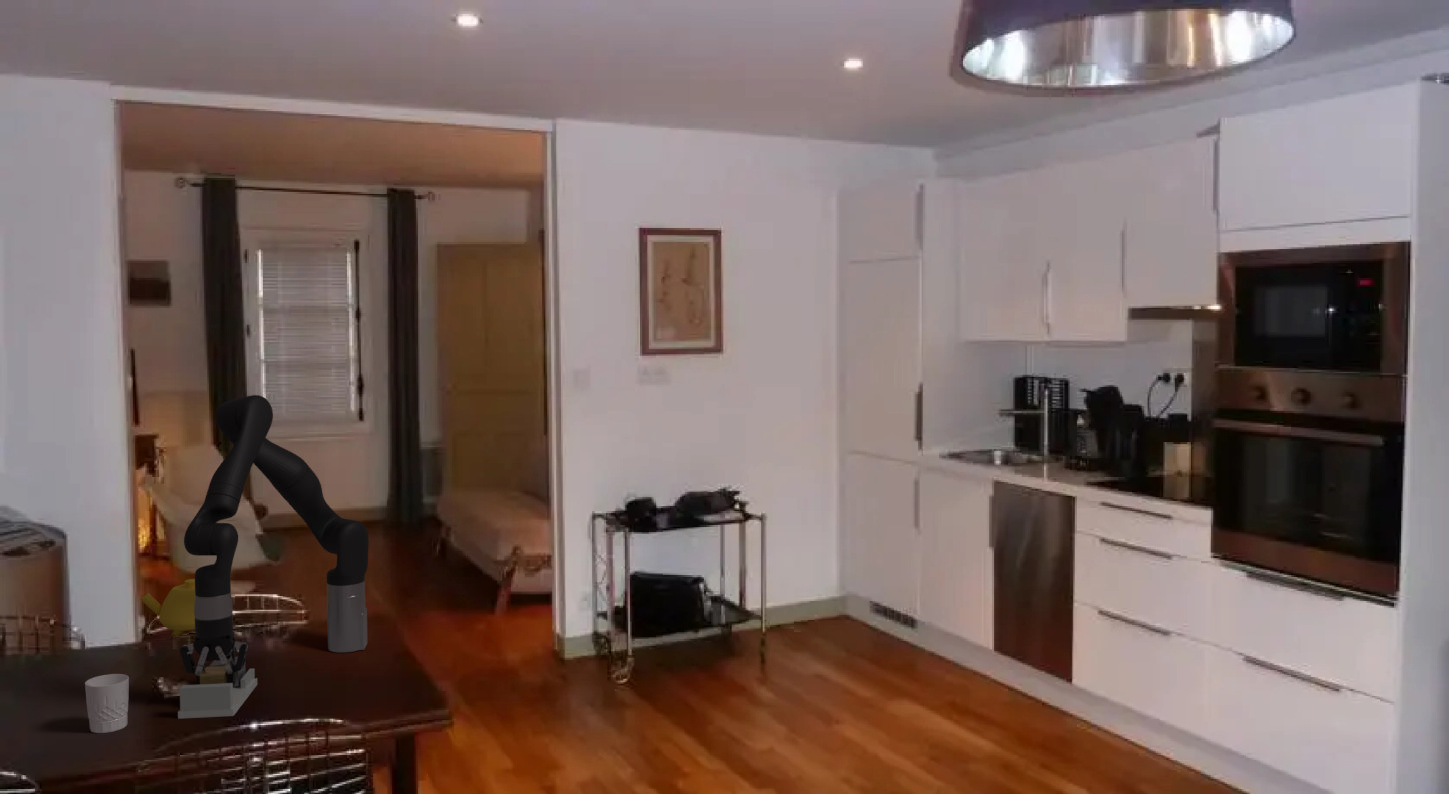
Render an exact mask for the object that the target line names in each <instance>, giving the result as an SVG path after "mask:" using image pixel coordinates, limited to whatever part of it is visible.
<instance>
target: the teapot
mask: <svg viewBox="0 0 1449 794" xmlns="http://www.w3.org/2000/svg"><path fill="white" fill-rule="evenodd" d="M140 601H141V602H142V603H143V604H145V605H146V606H147V607H148V608H149V610H151V611H152V612H154V613H155V614H156V615H157V616H158V617H159V621H160V623H161V624H162V625H163V627H165V628H166V629H167V630H170V631H171V630H172V633H171V636H173V637H178V636H182V635H183V633H184V631H193V630H194V631H195V616H194V603H195V578H189V579H185V580H184V584H183V583H182V584H179V585H176V586H174V587H172V588H171V590H170V591H169V592H168V594H167V595H166V597H165V598H164V601H163V602H162V604H160V603H159V602H158V600H157V599H155V598H154V597H153V596H152V595H151V594H150V593H149V592H147V593H145V594H144V595H143V596H142V597H141V598H140Z"/></svg>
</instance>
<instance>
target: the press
mask: <svg viewBox="0 0 1449 794" xmlns="http://www.w3.org/2000/svg"><path fill="white" fill-rule="evenodd" d="M255 670H256V669H255V668H249V669H248V670H247V672H246V674H245V675H244V676H243V678H242V679H241V684H240V685H239V686H234V687H233V683H223V684H201V685H196V684H187V685H186V684H185V685H184V684H183V685H182V686H181V687H179V707H180V709H179V710H178V711H177V719H178V720H179V719H196V718H197V719H199V718H200V719H201V718H202V719H203V718H215V717H216V718H218V717H219V718H220V717H234V716H235V715H236V713H237V712H238V710H239V709H240V708H241V707H242V705H243V704H244V703H245V702H246V700H247V699H248V697H249V696H250V695H251V693H252V692H253V691H254V690H255V689H256V687H257V686H258V678H257V677H256V678H255V676H256V675H255V674H256V673H255V672H256V671H255Z"/></svg>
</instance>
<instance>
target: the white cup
mask: <svg viewBox="0 0 1449 794" xmlns="http://www.w3.org/2000/svg"><path fill="white" fill-rule="evenodd" d="M129 681H130V678H129V675H127V674H122V673H110V674H104V675H102V674H101V675H97V676H94V677H91V678H89V679H87V680H86V681H85V682H84V688H85V689H84V690H85V701H86V708H87V718H88V722H89V730H90V732H91V733H95V734H107V733H113V732H116V731H120V730H122V729H125V727H127V725H128V711H129V699H130V698H129V693H130V692H129V687H130V686H129V684H130V682H129Z"/></svg>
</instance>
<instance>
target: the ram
mask: <svg viewBox="0 0 1449 794" xmlns="http://www.w3.org/2000/svg"><path fill="white" fill-rule="evenodd" d="M233 636H234V637H235V631H234V630H233ZM235 651H236V647H233V649H232V650H231V651H230V654H231V656H232V660H233V663H234V665H236V663H237V659H238V655H237V656H236V655H235V654H236V652H235ZM214 666H223V665H222V663H221V660H219V661H217V660H212V662H211V663H210V664H209V667H214ZM246 670H247V669H246V662H245V663H244V666H243V668H242V669H241V670H240V671H236V672H235V686H239V685H240V684H241V679H242V678H243V676H244V675H245V674H246V673H247V672H246Z"/></svg>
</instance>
